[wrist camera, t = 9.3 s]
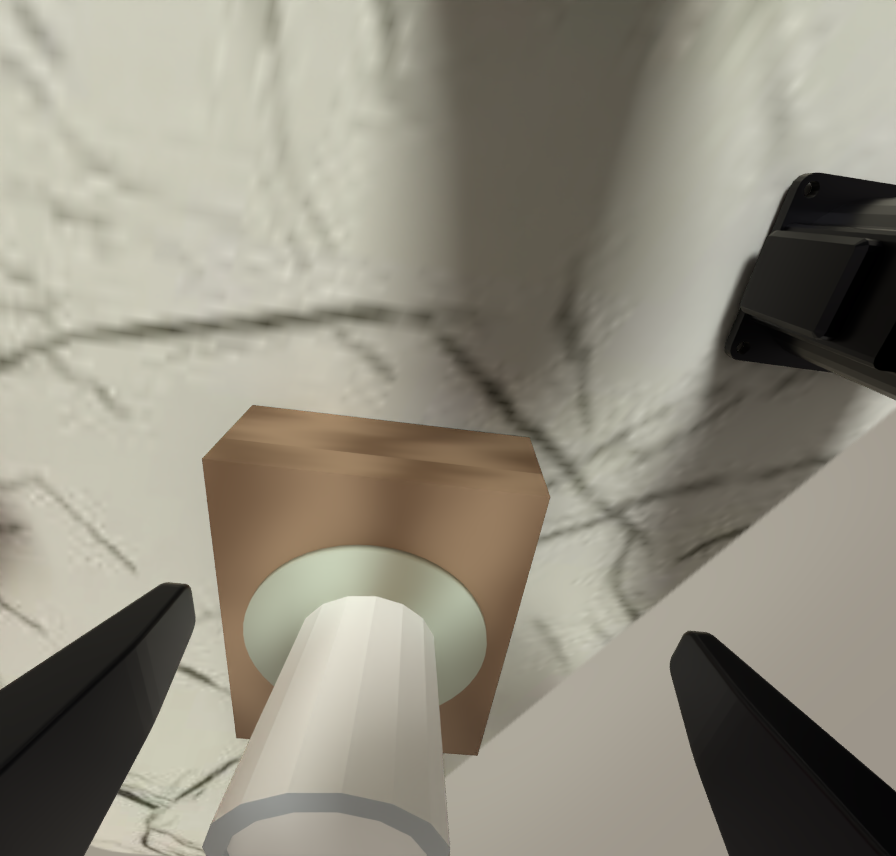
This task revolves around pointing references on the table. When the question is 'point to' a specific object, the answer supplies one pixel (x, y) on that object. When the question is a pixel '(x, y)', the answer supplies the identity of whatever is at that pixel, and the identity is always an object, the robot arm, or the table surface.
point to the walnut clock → (372, 544)
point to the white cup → (344, 744)
